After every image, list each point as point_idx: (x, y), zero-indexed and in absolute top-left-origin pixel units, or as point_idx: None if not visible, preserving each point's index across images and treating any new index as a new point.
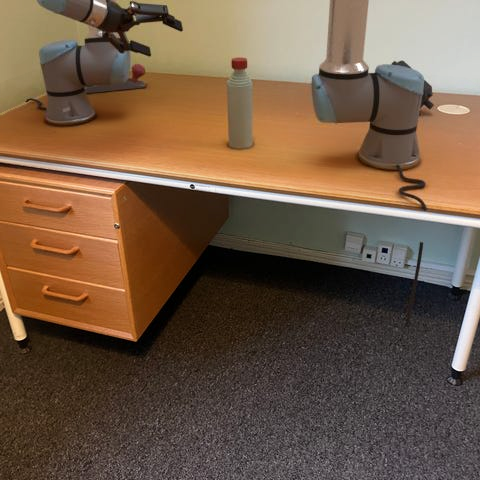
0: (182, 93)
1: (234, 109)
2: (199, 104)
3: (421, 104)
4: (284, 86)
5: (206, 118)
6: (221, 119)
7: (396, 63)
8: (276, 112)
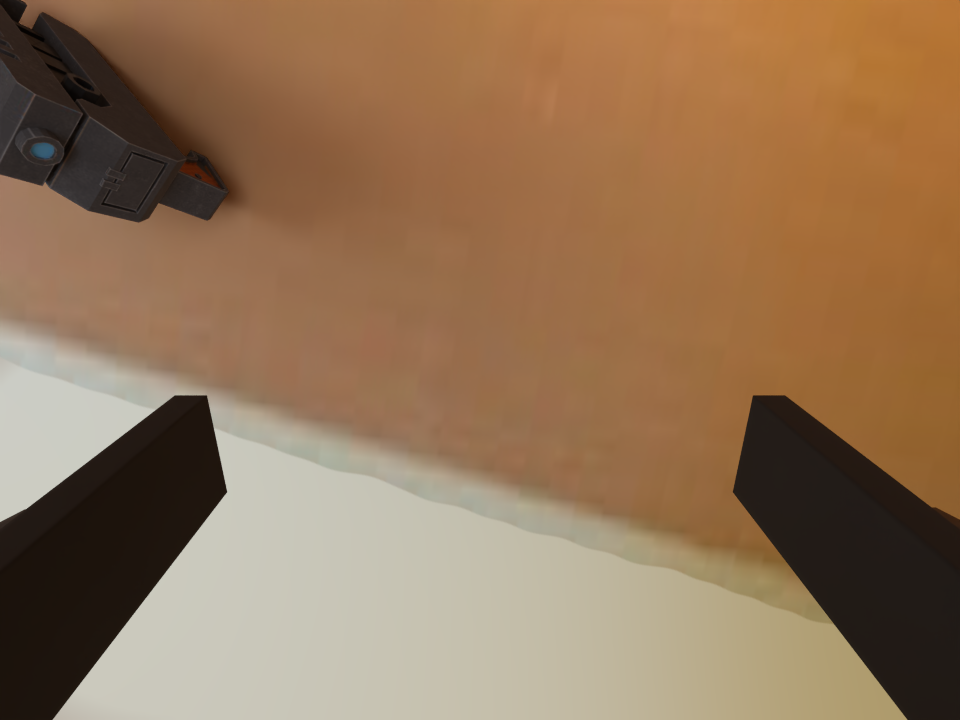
0: (928, 399)
1: None
2: (902, 262)
3: (9, 9)
4: (540, 443)
5: (925, 75)
6: (869, 55)
7: (11, 92)
8: (629, 126)
